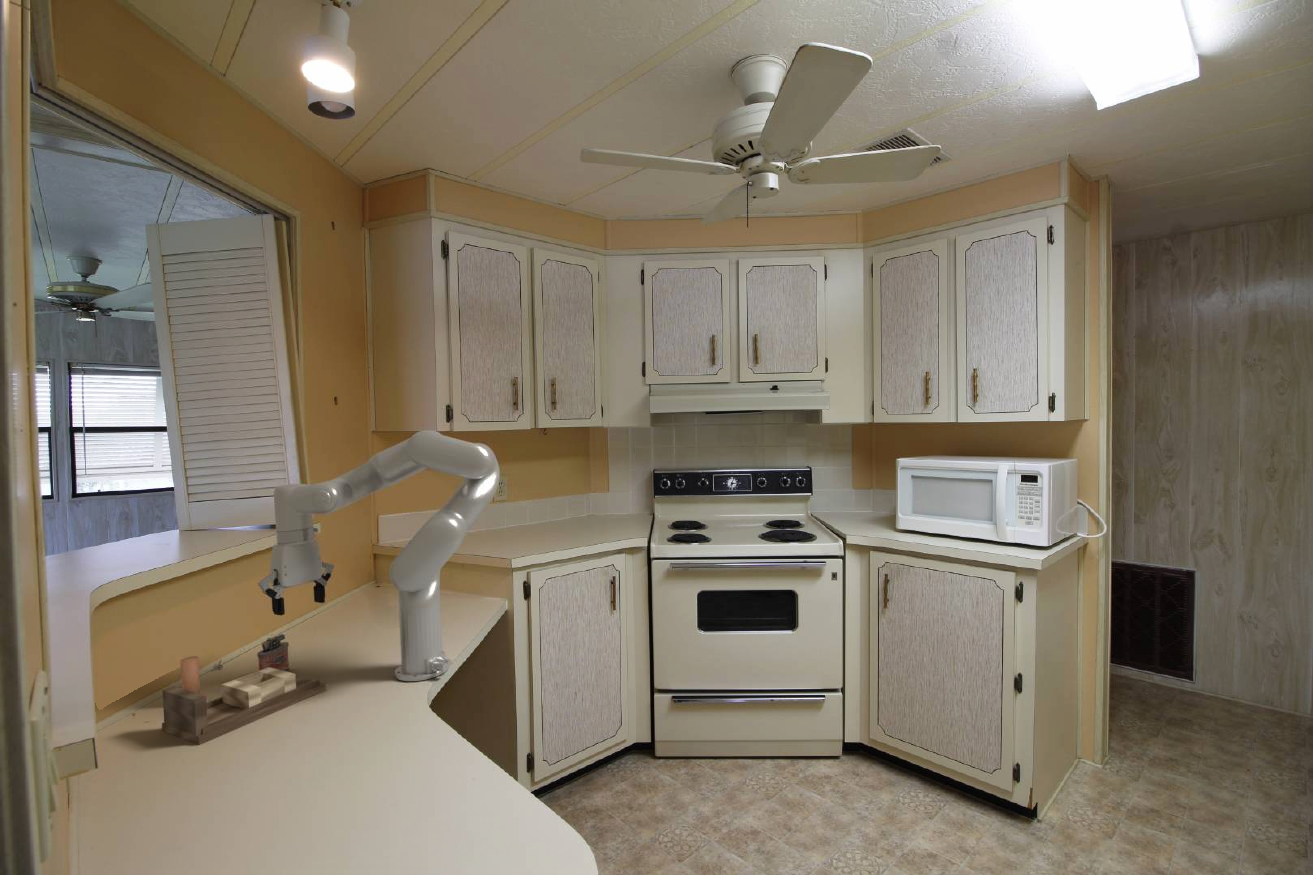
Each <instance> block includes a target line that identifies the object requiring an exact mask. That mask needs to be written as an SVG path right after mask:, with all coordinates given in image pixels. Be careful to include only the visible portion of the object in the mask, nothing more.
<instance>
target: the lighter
mask: <svg viewBox="0 0 1313 875" xmlns="http://www.w3.org/2000/svg"><path fill="white" fill-rule="evenodd" d="M285 639H286V635H285V634H284V633H281V634H279V635H278V634H277V635H276V636H274V637H268V638H267V639H266V640H265V641H264V642H262V643H261V648H262V650H260V651H259V652H257V654H256V655H257V658H258V671H260V670H262V669H265V668H268V667H270V668H274V669H278V670H282V671H286V672H290V673H291V668H290V667H289V666H290V665H289V662H290V661H289V642H288V641H287V642H286V641H284V640H285ZM281 641H283V642H281Z"/></svg>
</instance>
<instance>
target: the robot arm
mask: <svg viewBox="0 0 1313 875" xmlns="http://www.w3.org/2000/svg"><path fill="white" fill-rule="evenodd" d="M426 469H430V470H433V471H437V472H441V473H445V474H449V475H453V476H457V477H459V478H464V479H463V481H462V483H461V484H459V486H458V487H457V489H456V490H455V491H454V493H452V495H451V496H450V498H449V499H448V500H447V501H446V502H445V503H444V505H443V506H442V507H441V508H440V509H439V510H438V511H437V512H435V513H434V514H432V516H430V518H429V519H427V520H426V521H425V523H424V524H423V525H422V526H421V527H420V528H419V530H418V531H417V532H416V533H415V534H414V536H413V537H412V538H411V539H410V541H408V543H407V544H406V546H404V548H403V549H402V550H401V551H400V552H399V554H398V555H396V557H395V558H394V559H393V560H392V562H391V565H390V567H389V579H390V581H391V583H392V585H393V586H394V587H395V588H396V589H398V619H399V621H398V622H399V639H400V644H399V645H400V662H401V664H400V665H398V667H396V668H395V670H394V676H395V678H396V679H397V680H400V681H402V682H421V681H424V680H426V681H427V680H429V679H432V678H436V677H438V676H439V677H440V675H443V674H445V673H446V672H447V671H448V670H449V669H450V666H451V665H452V664H453V660H452V659H448V658H446V651H443V636H442V635H443V634H442V614H441V569H442V568H443V567H444V565H446V563H447V562H448V561H449V559H450V558H452V556H453V555H454V554H455V553H456V551H457V550H458V549H459V547H460V546H461V545H462V543H463V541H464V539H465V537H466V535H467V533H468V531H469V530H470V529H471V528H472V526H473V525H474V523H476V521H477V520H478V519H479V517H480V516H481V515H482V514H483V512H484V511H485V509H486V508H488V506H489V505H490V503H491V502H492V501H493V499H494V497H495V495H496V493H497V490H498V488H499V486H500V478H501V472H500V465H499V462H498V460H497V457H496V455H495V452H494V451H493V450H492V449H491V447H489V446H488V445H486V444H484V443H481V442H471V441H466V440H462V439H458V438H454V437H451V436H447V435H445V434H444V435H443V434H441V433H440V432H439V431H437V430H431V429H430V430H429V429H426V430H425V429H423V430H420V431H418V432H415V433H414V434H413V435H412V436H411V437H409V438H408V439H405V440H403V441H401V442H399V443H397V444H395V445H393V446H391V447H388V448H386V449H384V450H382V451H380V452H377V453H376V454H374V455H373V456H371V457H370V458H369V459H368V460H367V461H366V462H365V463H363V464H362V465H359V466H357V467H356V468H353V469H352V470H350V471H347V472H345V473H343V474H341V475H340V476H337V477H335V478H333V479H330V480H329V479H328V480H325V481H321V482H318V483H313V484H306V483H293V484H292V483H291V484H283V485H279V486H276V487H275V488H274V491H273V502H274V503H273V504H274V517H275V518H274V520H275V521H274V522H275V532H276V533H275V534H276V544H274V545H272V549H271V550H272V551H271V555H270V556H271V558H270V570H269V574H267V575H266V576H265V577H264V578H262V579H261V580H260V581H258V583H257V584H258V585H257V586H258V587H259V588H260V589H261V591H262V593H263V594H265V595H267V596H268V597H269V598H270V599H271V608H272V609H271V610H272V613H273V614H274V615H276V616H284V615H285V613H286V612H285V598H284V597H282V595H283V594H284V592H285V591H286V589H290V588H293V587H298V586H301V585H304V584H309V583H313V584H315V585H314V586H313V587H312V588H313V599H314V600H313V602H314V603H318V604H324V603H325V602H326V586H327V585H328V581H329V580H330V579H331V577H332V572H333V570H334V567H335V565H333V564H331V563H327V562H324V561H322V556H321V551H320V548H319V543H318V541H317V539H316V538H315V534H318V533H319V529H318V528H317V527H314V521H313V520H314V518H313V515H329V514H332V513H334V512H336V511H338V510H342V509H344V508H346V507H347V506H349V505H352V504H354V503H355V502H358V501H359V500H361V499H364V498H365V497H367V496H370V495H371V494H373V493H376V492H378V491H381V490H382V489H383V490H384V489H387V488H390V487H392V486H394V485H396V484H398V483H400V482H402V481H404V480H406V479H409V478H410V477H412V476H414V475H417V474H418V473H420V472H422V471H424V470H426ZM323 569H324V571H323ZM270 586H272V588H271V587H270Z"/></svg>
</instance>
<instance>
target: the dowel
mask: <svg viewBox="0 0 1313 875" xmlns="http://www.w3.org/2000/svg"><path fill="white" fill-rule="evenodd" d="M179 662H180V663H179V664H180V680H181V689H184V690H188V691H191V692H194V693H197V694H200V695H201V684H200V682H201V681H200V666H199V665H200V661H199V656H198V655H197V656H196V655H195V656H194V655H192V656H188V657H184V658H181V659H180V661H179Z"/></svg>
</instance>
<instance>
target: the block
mask: <svg viewBox="0 0 1313 875" xmlns="http://www.w3.org/2000/svg"><path fill="white" fill-rule="evenodd" d="M295 676H296V673H294V672H291V671H290V672H286V671H282V670H278V669H274V668H270V667H268V668H265V669H262V670H260V671H259V670H257V671H255V672H254V671H253V672H252V673H249V674H245V675H244V676H240V677H238V678H235V679H232V680H230V681H227V682H224V683H222V684H221V695H222V696H221V697H222V701H223V703H226V704H229V705H232V706H235V707H238V708H242V709H247V708H250V707H252V706H255V705H257V704H259V703H262V702H264V701H267V700H269V699H272V698H274V697H276V696H279V695H281V694H284V693H286V692H289V691H291V690H293V689H296V677H295Z"/></svg>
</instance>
